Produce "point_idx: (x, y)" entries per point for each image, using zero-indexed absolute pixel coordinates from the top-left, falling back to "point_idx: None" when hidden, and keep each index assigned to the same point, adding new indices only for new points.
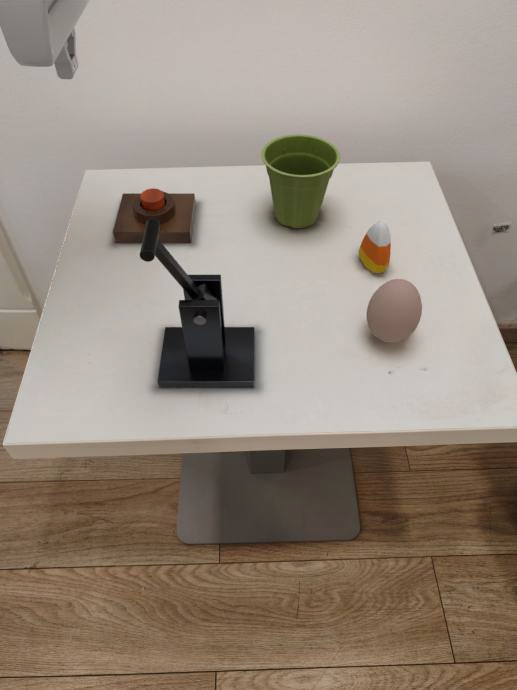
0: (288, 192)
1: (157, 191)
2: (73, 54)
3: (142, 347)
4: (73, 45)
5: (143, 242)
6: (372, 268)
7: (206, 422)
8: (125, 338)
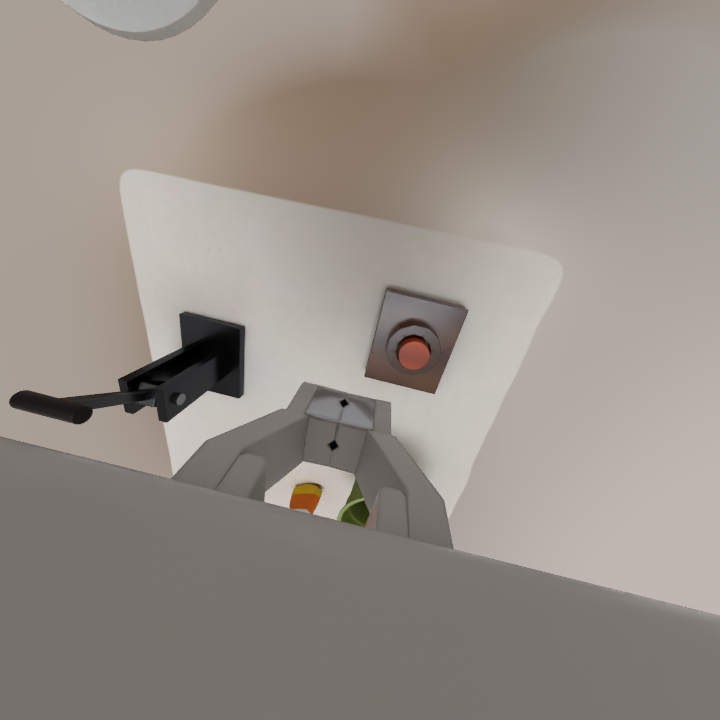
0: (354, 487)
1: (420, 363)
2: (355, 472)
3: (228, 302)
4: (368, 503)
5: (26, 403)
6: (297, 488)
7: (158, 342)
8: (238, 287)
